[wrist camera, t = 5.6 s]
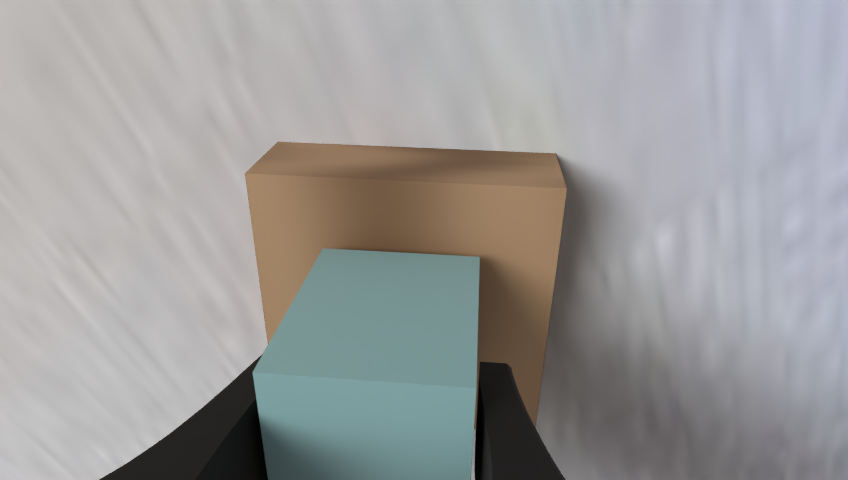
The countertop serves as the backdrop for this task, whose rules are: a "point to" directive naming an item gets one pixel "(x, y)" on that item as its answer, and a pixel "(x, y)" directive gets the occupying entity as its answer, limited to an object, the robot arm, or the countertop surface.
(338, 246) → the tan wooden block
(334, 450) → the teal block
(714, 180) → the countertop surface
